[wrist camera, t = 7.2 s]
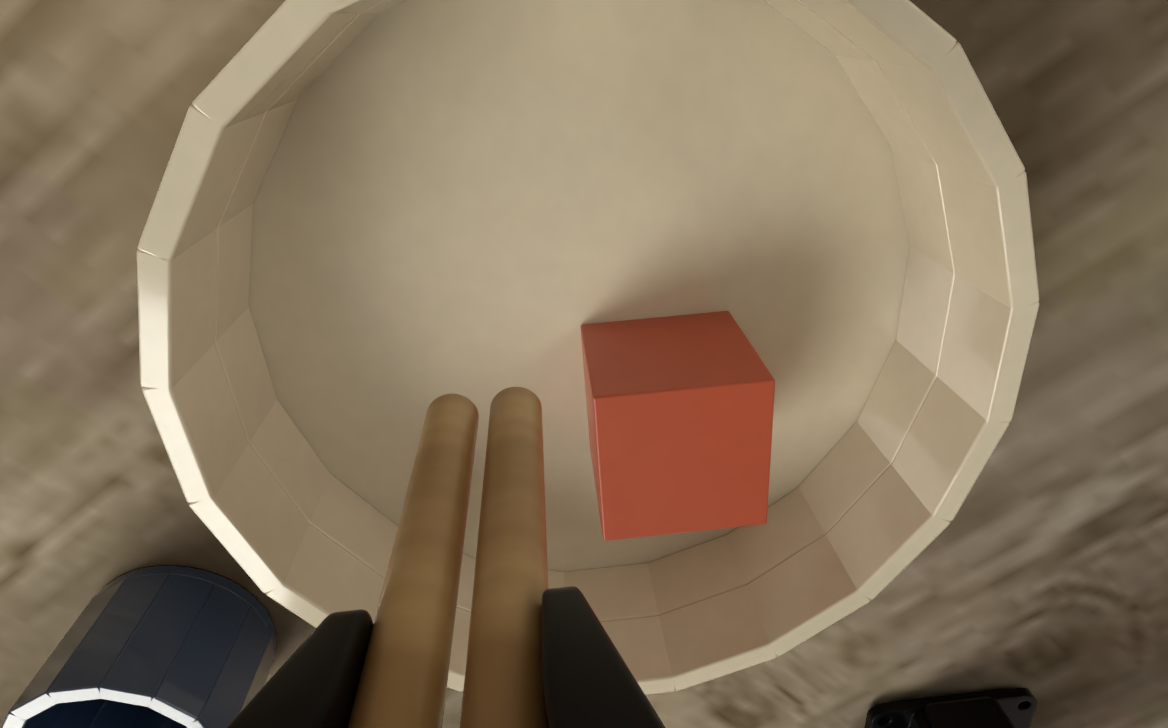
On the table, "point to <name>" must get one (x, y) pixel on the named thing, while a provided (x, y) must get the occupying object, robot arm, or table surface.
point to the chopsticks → (432, 573)
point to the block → (677, 424)
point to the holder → (154, 656)
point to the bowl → (588, 289)
